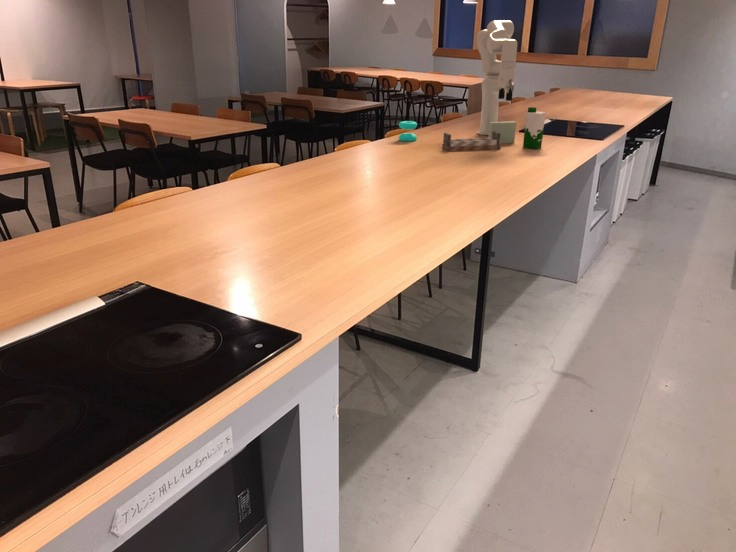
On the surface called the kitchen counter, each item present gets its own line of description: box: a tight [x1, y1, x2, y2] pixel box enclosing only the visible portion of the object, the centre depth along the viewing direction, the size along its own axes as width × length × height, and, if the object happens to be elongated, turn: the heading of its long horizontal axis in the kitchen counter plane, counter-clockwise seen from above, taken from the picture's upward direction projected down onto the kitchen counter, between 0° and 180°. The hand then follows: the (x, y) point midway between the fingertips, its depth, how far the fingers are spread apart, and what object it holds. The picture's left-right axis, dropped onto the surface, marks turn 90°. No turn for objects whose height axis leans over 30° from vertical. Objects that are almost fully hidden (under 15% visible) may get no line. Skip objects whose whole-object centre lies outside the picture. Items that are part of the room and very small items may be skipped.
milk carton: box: [522, 106, 547, 150], centre depth 298 cm, size 9×9×20 cm
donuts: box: [398, 120, 418, 142], centre depth 321 cm, size 10×10×10 cm
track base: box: [441, 131, 501, 152], centre depth 298 cm, size 28×10×8 cm, turn 101°
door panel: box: [487, 121, 517, 144], centre depth 313 cm, size 14×3×11 cm, turn 101°
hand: (505, 99), depth 307 cm, fingers open, 9 cm apart
